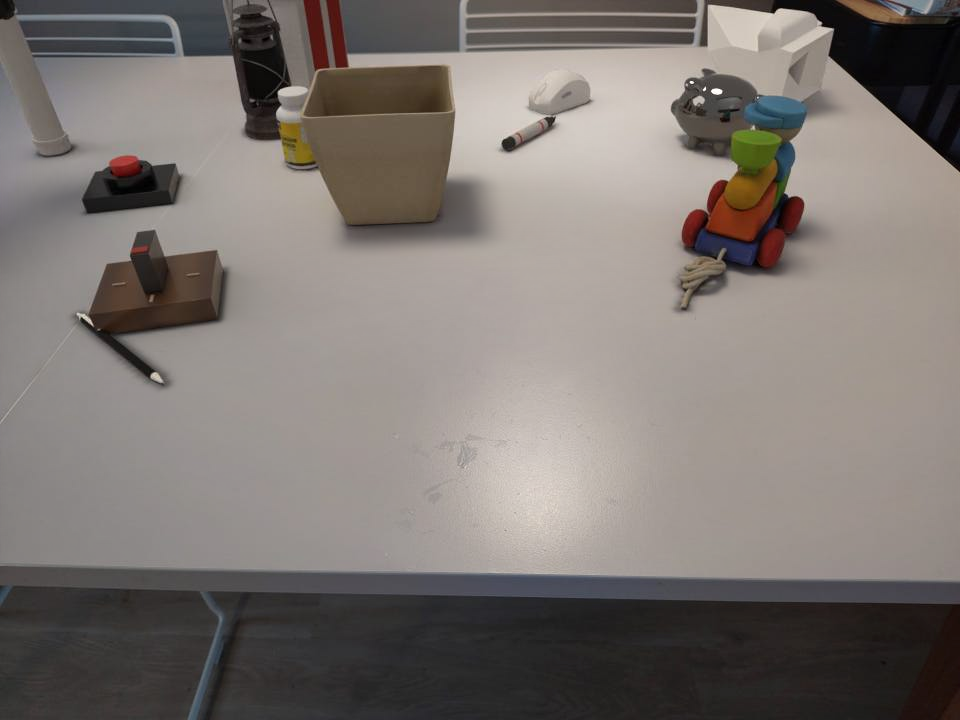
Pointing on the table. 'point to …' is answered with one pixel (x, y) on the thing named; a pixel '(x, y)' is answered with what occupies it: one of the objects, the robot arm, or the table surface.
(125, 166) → the button
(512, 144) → the marker
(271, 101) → the lantern
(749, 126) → the piggy bank
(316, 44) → the red white striped box
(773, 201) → the toy train
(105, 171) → the black button base
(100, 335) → the pen
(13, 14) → the robot arm
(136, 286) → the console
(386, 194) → the flower pot
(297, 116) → the pill bottle
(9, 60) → the pipe
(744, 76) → the white angular block
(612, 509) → the table surface
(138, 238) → the dial knob
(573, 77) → the computer mouse
